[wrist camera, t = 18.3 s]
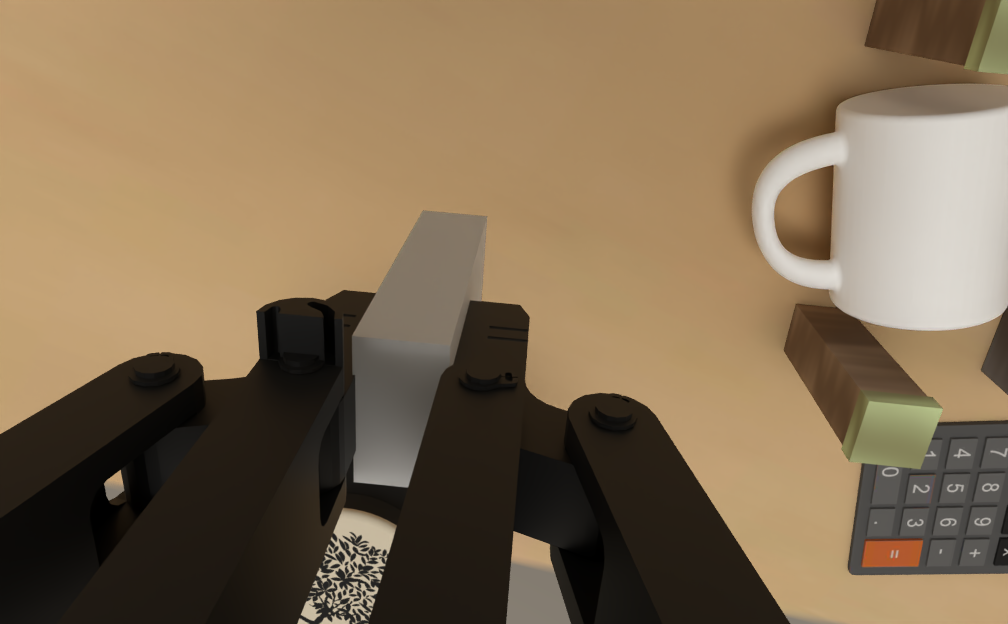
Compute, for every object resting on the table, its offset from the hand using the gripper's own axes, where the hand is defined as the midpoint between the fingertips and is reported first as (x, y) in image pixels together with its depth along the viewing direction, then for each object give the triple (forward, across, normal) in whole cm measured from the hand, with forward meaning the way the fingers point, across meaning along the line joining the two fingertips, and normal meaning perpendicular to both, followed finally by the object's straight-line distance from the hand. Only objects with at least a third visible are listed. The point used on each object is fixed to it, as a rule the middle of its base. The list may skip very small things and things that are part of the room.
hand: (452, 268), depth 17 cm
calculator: (+24, +32, -22) cm, 45 cm away
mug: (+24, +18, -3) cm, 30 cm away
